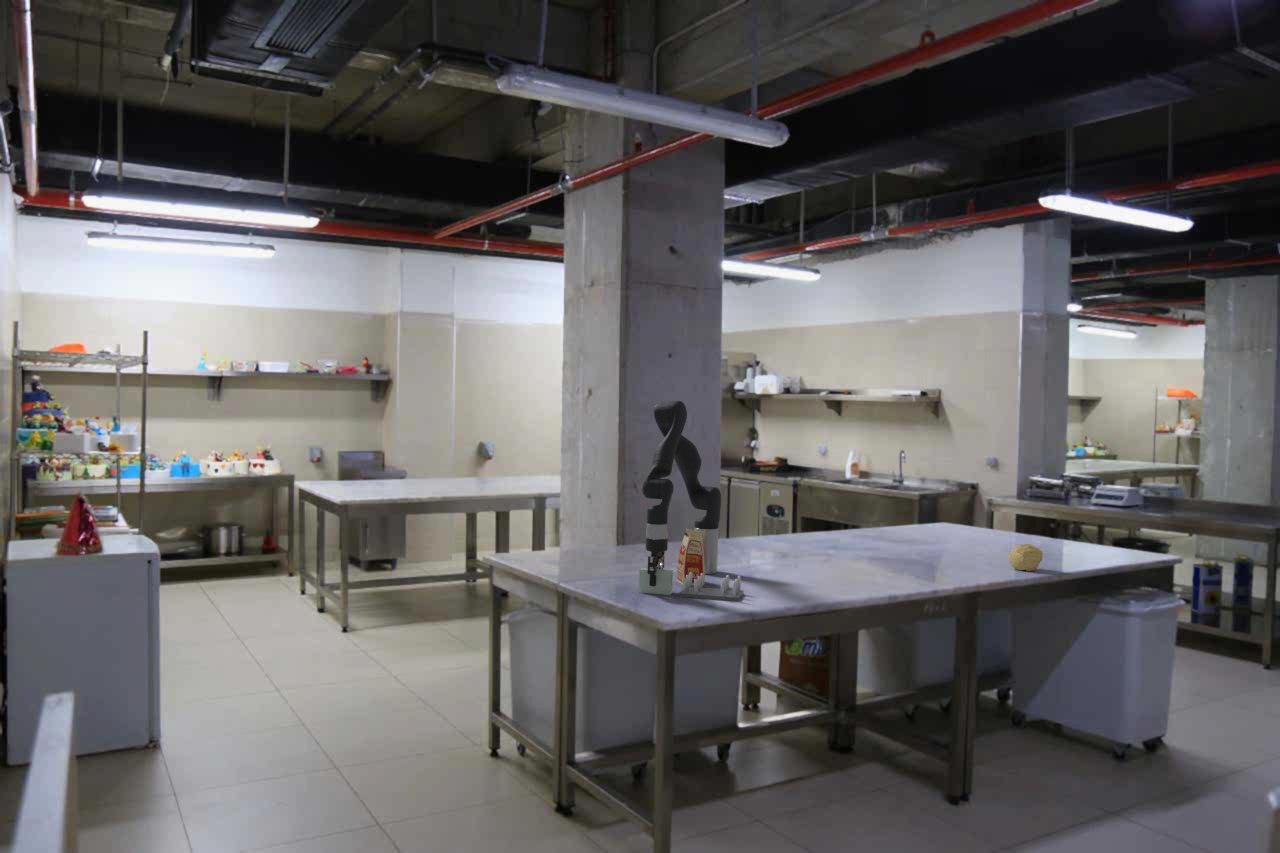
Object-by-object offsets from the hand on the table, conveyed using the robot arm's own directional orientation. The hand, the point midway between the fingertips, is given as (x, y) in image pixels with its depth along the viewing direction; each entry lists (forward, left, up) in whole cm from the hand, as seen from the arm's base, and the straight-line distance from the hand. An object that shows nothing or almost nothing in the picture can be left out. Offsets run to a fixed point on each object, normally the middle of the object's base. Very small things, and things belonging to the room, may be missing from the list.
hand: (655, 583), depth 308 cm
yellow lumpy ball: (-99, +132, -3) cm, 165 cm away
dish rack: (-3, +19, -3) cm, 19 cm away
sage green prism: (0, 0, -3) cm, 3 cm away
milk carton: (-22, +8, -3) cm, 23 cm away
